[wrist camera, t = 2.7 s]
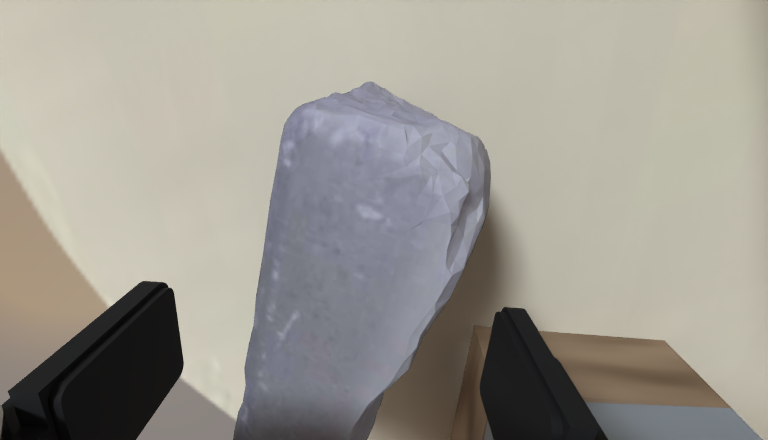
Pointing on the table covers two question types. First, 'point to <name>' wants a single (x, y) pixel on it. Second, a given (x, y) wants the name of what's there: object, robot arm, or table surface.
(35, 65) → the table surface
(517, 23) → the table surface
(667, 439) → the tower top
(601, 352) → the tower base
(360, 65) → the table surface
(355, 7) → the table surface
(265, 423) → the stone block
